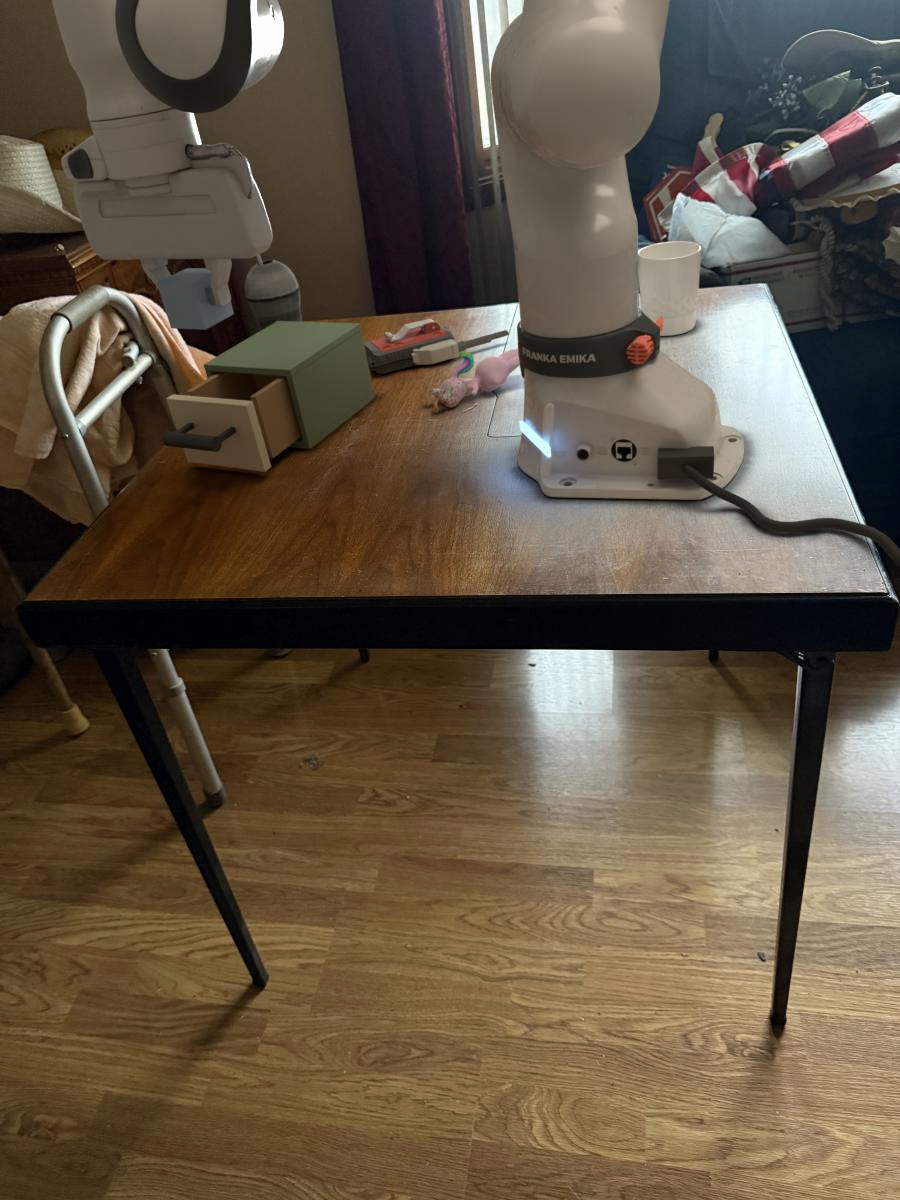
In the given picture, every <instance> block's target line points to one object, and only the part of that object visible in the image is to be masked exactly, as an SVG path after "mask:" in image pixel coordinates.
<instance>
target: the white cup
mask: <svg viewBox="0 0 900 1200" xmlns="http://www.w3.org/2000/svg"><path fill="white" fill-rule="evenodd" d="M702 248H703V247H702V245H700V244H699V243H696V242H694V241H687V240H686V241H685V240H675V241H661V242H658V243H653V244H650V245H647V246H644V247H643V248H642V247H641V249H638V279H639V299H640V309H641V310H642V312H643V313H644V314H645V315H646V316H647V317H648V318H650V319H651V320H652V321H653V322H654V323H655V322H656V321H657V320H658V319H659V318H660V316H663V324H662V325H663V330H662V331H661V332H660V337H667V336H677V335H681V334H685V333H688V332H690V331H691V330H693V329H694V328H695V326H696V321H697V320H696V319H697V306H698V301H699V289H700V278H701V277H700V276H701V262H702Z"/></svg>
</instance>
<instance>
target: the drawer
mask: <svg viewBox="0 0 900 1200" xmlns="http://www.w3.org/2000/svg"><path fill="white" fill-rule="evenodd" d="M165 401H166V403H167V406H168V409H169V412H170V415H171V418H172V421H173V423H174V426H175V429H176V431H170V430H166V431H164V432H163V433H162V436H161V442H162V444H163V445H164V446H165V447H171V448H179V449H180V448H181V449H182V451H183V452H184V456H185V458H186V461H187V463H193V464H194V463H195V464H201V465H208V466H218V467H225V468H231V469H232V468H233V469H240V470H248V471H256V472H261V473H266V472H267V471H269V469H271V468H272V464H271V461H270V459H274V458H275V457H277V456H278V455H280V454H281V453H283V452H284V451H285V450H286V449H288V448H290V447H289V446H290V445H291V444H292V443H294V442H295V441H296V440H298V439H299V438H300V437H302V436H301V432H300V428H299V424H298V420H297V416H296V412H295V408H294V405H293V401H292V397H291V393H290V389H289V385H288V381H287V376H275V375H260V374H245V373H230V372H218V373H216V374H214V375H213V376H211V377H209V378H206V379H204V380H202V381H201V382H199V383H198V384H196V385H194V386H193V387H191V388H190V389H188V390H186V395H185V394H171V395H169V396H168V397H166V398H165Z"/></svg>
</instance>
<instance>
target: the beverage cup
mask: <svg viewBox="0 0 900 1200" xmlns="http://www.w3.org/2000/svg"><path fill="white" fill-rule="evenodd" d="M255 257H256V261H257V263H255V264H253V266H252V267H251V268H250V269H249V271H248V272H247V274H246V277H245V281H244V291H245V301H246V302H247V303H248V307H249V308H250V311H251V313H252V314H253V316H254V319H255V321H256V323H257V326H258V330H259V332H260V331H261V330H263V329H265V328H266V327H268V326H270V325H272V324H273V323H275V322H277V321H297V322H303V316H302V309H301V304H302V303H301V292H300V290H301V287H300V285H299V283H298V280H297V278H296V276H295V274H294V273H293V271H292V270H291V269H290V268H289V267H288V266H287V265H286V264H284V263H283V262H280V261H278V260H275V259H264V260H262V257H261V254H259V255H257V256H255Z"/></svg>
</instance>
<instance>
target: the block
mask: <svg viewBox="0 0 900 1200" xmlns="http://www.w3.org/2000/svg"><path fill="white" fill-rule="evenodd" d="M211 275H212V270H207V269H206V267H204V268H203V267H202V268H201V267H198V268H197V267H195V268H191V267H188V268H187V267H186V268H185V269H182V270H180V271H178V272H176V273H174V274H171V276H169V277H167V278H165V279H163V280H161V281H158V282H157V286H158V287H157V286H156V287H157V289H158V291H159V295H160V298H161V301H162V304H163V307H164V310H165V314H166V317H167V320H168V323H169V326H170V328H171V329H173V330H174V329H177V330H178V329H179V330H181V329H182V330H201V331H203V330H205V331H207V330H208V329H209V328H212V327H213V326H215V325H216V324H218V323H220V322H222V321H224V320H226V319H228V318H230V317H231V316H233V315H234V314H235V313H234V308H233V305H232V301H231V302H230V303H228V304H226V305H224V306H211V305H210V304H209V302H208V297H207V295H206V292H205V288H207V287H209V286H210V285H211Z"/></svg>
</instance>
